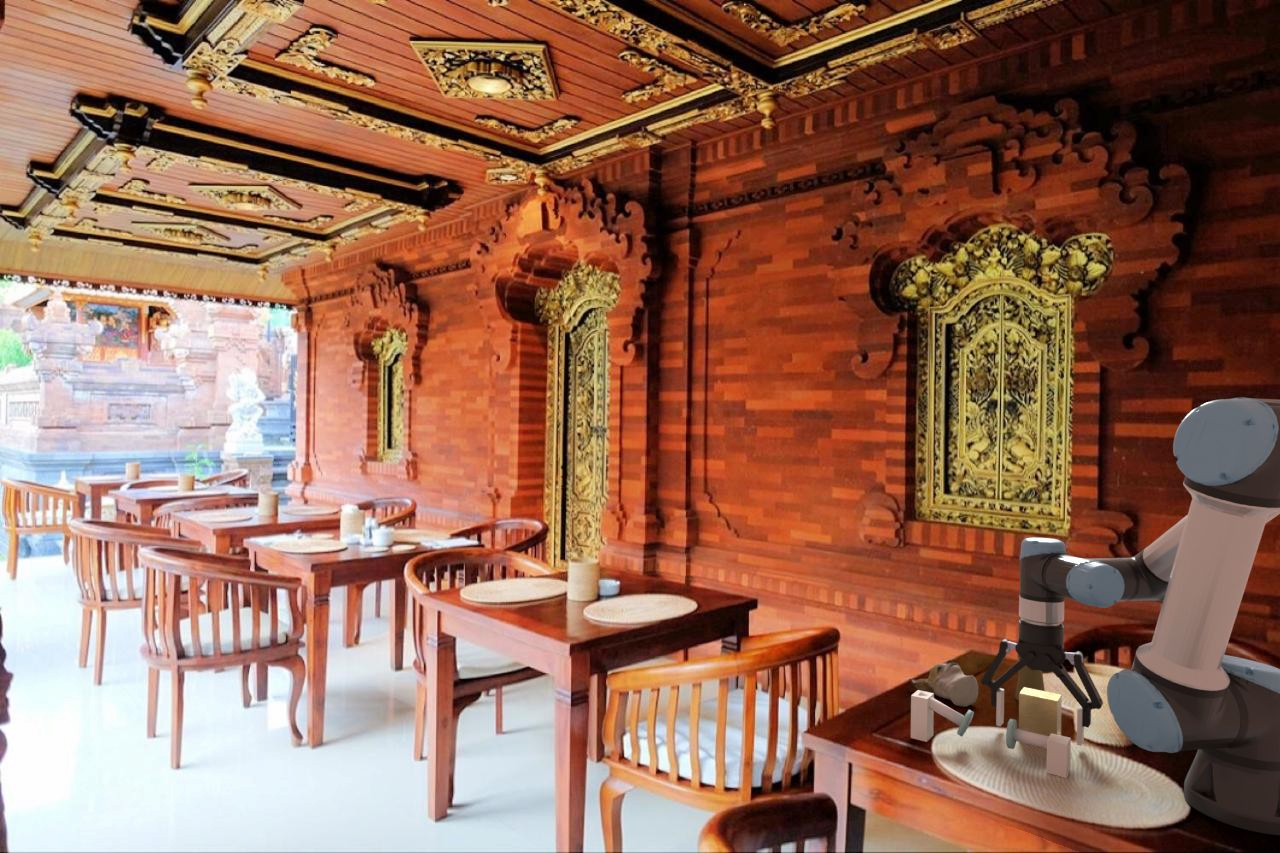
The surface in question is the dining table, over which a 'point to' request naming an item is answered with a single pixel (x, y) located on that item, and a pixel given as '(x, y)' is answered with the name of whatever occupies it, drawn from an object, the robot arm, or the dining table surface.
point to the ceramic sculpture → (950, 684)
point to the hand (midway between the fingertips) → (1038, 733)
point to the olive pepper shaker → (1029, 680)
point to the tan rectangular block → (1040, 712)
